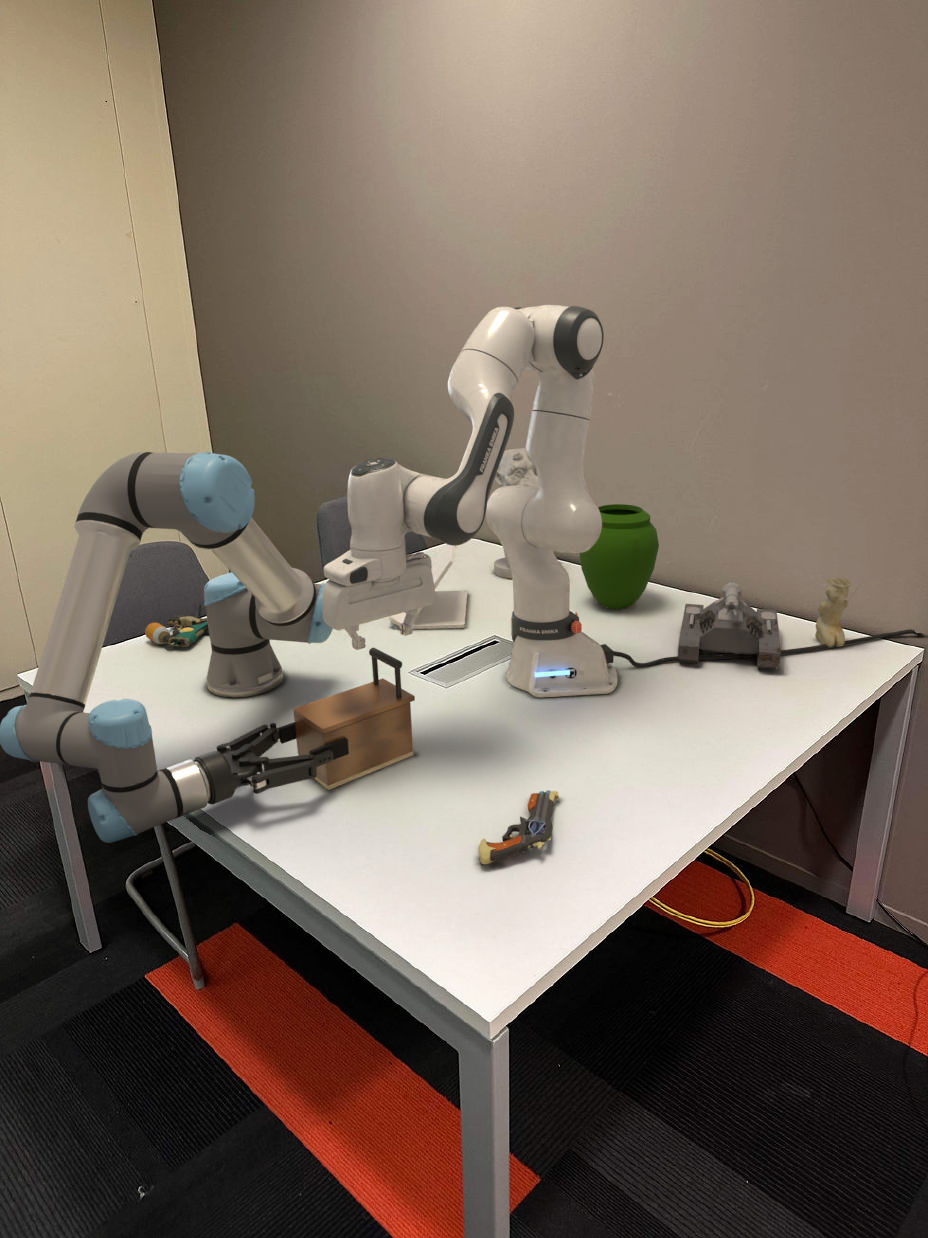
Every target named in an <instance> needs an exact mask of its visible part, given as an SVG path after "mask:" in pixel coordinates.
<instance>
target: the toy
mask: <svg viewBox="0 0 928 1238" xmlns="http://www.w3.org/2000/svg"><path fill="white" fill-rule="evenodd" d="M742 593H743V589H742V587H741V585H740V584H739V583H737V582H733V581H730V582H727V583H726V584H725V585H724V586H723V587H722V589H721V594H722V596H721V597H720V598H719V599H716V600H715V601H713V602H711V603H710V604H709V605H707V606H706V607H705V605H704V604H694V603H684V610H683V615H682V619H681V621H682V622H681V626H680V632H679V637H678V649H677V650H678V651H677V656H678V657H679V661H678V662H679V663H687V664H688V663H689V664H698V661H699V660H698V656H700V655H699V653H700V650H702V651H705V652H713V653H714V652H715V653H725V654H749V655H751V654H757V657H756V667H757V669H758V668H759V669H771V670H777V668H779V665H780V662H781V650H782V646H781V645H782V644H781V636H780V627H779V621H778V611H777V609H768V608H767V609H765V608H757V609H756V610H755V609H754V608H753V607H752V606H751V605H749V604H748V603H747V602H746V601H744V600H743V599H742V598H741V596H742Z"/></svg>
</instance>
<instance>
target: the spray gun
mask: <svg viewBox="0 0 928 1238" xmlns="http://www.w3.org/2000/svg"><path fill="white" fill-rule="evenodd" d="M195 616H196V615H190V614H189V615H181V616H179V615H177V616H172V617H170V618H169V619H168V622H167V626H173V630H172V634H171V632H170V630H169V629H168V628H167V627H166V626H164V625H162V624H161V623H159V622H151V623H149V624H148V625H147V626H146V628H145V630H144V634H145V636H146V638H147V639H148V640H150V641H152V642H153V643H155V644H157V645H164V644H168V645H169V646H170V647H183V648H184V647H185V648H188V647H189V646H190V645H191V644H193V643H194V642H195V641H197V640H198V638H200V636H202V635H204V634H206V633H205V632H206V630H208V631H209V628H208V622H207V617H204V618H201V617H195ZM185 626H187V627H185Z"/></svg>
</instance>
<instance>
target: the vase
mask: <svg viewBox="0 0 928 1238" xmlns="http://www.w3.org/2000/svg"><path fill="white" fill-rule="evenodd" d="M597 507H598V509H599V511H600V514H601V518H602V530H601V533H600V536H599V538H598V540H597V542H596V543H595V544H594V546H593V547H592V548H591V549H589V550H588V551H586V552H582V553H578V554H579V562H580V569H581V571H582V574H583V577H584V580H585V583H586V585H587V588H588V590H589V591H590V594H592V597H593V598H594V600H595V601H596V602H597V603H598V604H599V605H600V606H602V607H604V608H606V609H609V610H625V609H628V608H630V607H632V606H634V604H636V602H638V601H639V599H640V597H641V596H642V595H643V593H644V592H645V590H646V588H647V586H648V584H649V581H650V579H651V577H652V574H653V572H654V570H655V566H656V562H657V557H658V552H659V548H660V544H659V543H660V542H659V537H658V531H657V528H656V527H655V526H654V524H653V523H652V522H651V515H650V514H649V512H647V511H645V510H644V509H643V508H642V507H641V506H638V505H633V504H622V503H621V504H619V503H616V504H615V503H614V504H604V505H601V506H597Z"/></svg>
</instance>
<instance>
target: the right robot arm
mask: <svg viewBox="0 0 928 1238" xmlns="http://www.w3.org/2000/svg"><path fill="white" fill-rule="evenodd" d="M604 338H605V336H604V327H603V325H602V322H601V320H600V317H599V316H598V314H597V313H596V312H595V311H594V310H592V309H589V308H586V307H583V306H579V305H571V306H567V305H558V304H542V305H537V306H528V307H518V306H517V307H511V306H497V307H494V308H493V309H491V310H490V311H489V312H487V313H486V314H485V316H484V317H483V318H482V319H481V321H480V322H479V323H478V324H477V325H476V327H475V328H474V330H473V331H472V333H470V335H469V336H468V338H467V340H466V341H465V343H464V345H463V347H462V349H461V350H460V352H459V354H458V356H457V358H456V360H455V361H454V363H453V365H452V367H451V370H450V372H449V374H448V375H449V376H448V379H447V383H446V384H447V391H448V397H449V398H450V400H451V403H452V405H453V406H454V407H455V409H456V410H457V411H458V412H459V413H460V414H461V415H462V416H464V417H465V418H466V419H467V420H468V421H469V422H471V423H472V432H471V435H470V438H469V440H468V444H467V445H466V449H465V452H464V454H463V457H462V458H461V459H462V460H461V462H460V464H459V468H458V470H457V472H456V473H454V475H452V476H451V477H448V478H444V477H438V476H434V475H430V474H425V473H421V472H417V471H415V470H411V469H408V468H406V467H404V466H402V465H401V464H399V463H398V462H397V461H396V460H395V459H394V458H390V457H376V458H369V459H365V460H362V461H360V462H358V463H356V464H355V465H354V466H353V467H352V468H351V469H350V473H349V476H348V479H347V491H346V492H347V494H346V495H347V496H346V498H347V500H346V501H347V503H346V504H347V516H348V517H347V518H348V522H349V524H350V528H351V535H350V541H349V549H348V550H347V551H346V552H344V553H343V554H342V555H340V556H339V557H337V558H335V559H333V560H331V561H330V562H328V563H327V564H326V565H324V567H323V576H324V578H326V579H327V581H326V582H325V583H324V584H325V585H324V588H323V593H322V612H323V620H324V622H325V623H326V624H327V625H328V626H329V627H331V628H333V630H336V631H341V630H345V631H346V633H347V634H348V636H349V637H350V639H351V645H352V648H353V649H354V650H356V651H359V650H363V649H365V648H366V647H367V646H366V645H367V644H366V637H362V636H361V635H359V634H358V632H359V630H360V625H363V624H367V623H370V622H373V621H377V620H381V619H385V618H389V617H390V616H392V615H396V614H399V613H403V612H404V613H406V616H405V619H404V622H403V623H402V624H399V626H398V627H399V633H400V635H401V636H404V637H406V636H409V635H412V634H413V630H414V629H412V625H413V623H414V621H415V619H416V617H417V615H418V610H417V609H418V608H421V607H425V606H428V605H431V604H432V603H433V602H434V600H435V591H436V588H435V587H434V581H433V575H432V572H431V570H432V565H433V564H432V558H431V556H430V555H429V554H427V553H425V552H424V551H417V552H415V553H408V554H407V549H406V548H407V547H406V538H405V537H406V534H407V533H411V532H412V533H415V534H418V535H421V536H425V537H428V538H432V539H434V540H436V541H438V542H441V543H443V544H445V545H447V544H448V545H453V546H456V547H458V546H462V545H464V544H466V543H468V542H469V541H470V540H471V539H473V538H474V537H475V536H476V535H478V533H479V531H480V530H481V528H482V526H483V524H484V522H485V520H486V523H487V525H488V527H489V529H491V531H492V532H493V533H494V534H495V536H496V537H497V538H498V540H499V542H500V544H501V546H502V548H504V549H503V552H504V551H505V553H506V556H507V559H508V562H509V565H510V569H511V573H512V578H511V579H512V592H513V593H512V594H513V596H512V597H513V611H512V612H511V618H510V635H511V640H512V645H511V646H512V647H511V655H510V660H509V665H508V669H507V672H506V675H505V678H506V681H507V683H509V684H510V685H511V686H513V687H515V688H517V689H519V690H522V691H525V692H527V693H529V694H530V695H531V696H533V697H535V698H556V697H572V696H573V697H574V696H588V695H589V696H590V695H591V696H592V695H607V694H611V693H612V692H613V691H615V690H616V688H617V686H618V673H617V670H616V668H615V667H614V666H613V665H612V664H613V663H614V657H619V658H622V659H625V660H627V661H628V662H629V663H630V665H631V666H633V667H635V668H639V669H640V668H642V669H643V668H649V667H654V666H657V665H659V664H663V663H670V662H679V657H678V655H677V656H676V655H675V656H666V657H662V658H657V659H655V660H651V661H649V662H648V661H647V662H637V661H635V660H634V659H633V657H632V656H631V655H629V654H627V653H625V652H621V651H617V650H613V649H612V648H611V647H609V646H608V645H607V644H606V643H602V644H600V643H599V642H598V641H596V640H595V639H593V638H591V637H590V636H589V635H587V634H586V633H585V632H583V631H582V630H583V626H582V625H583V624H582V622H581V621H580V616H579V615H578V612H577V611H575V613H574V612H573V611H571V610H570V590H571V589H570V586H571V585H570V584H571V579H570V576H569V572H568V571H567V570H566V568H565V567H564V566H563V565H562V564H561V562H560V561H559V560H558V558H557V556H556V555H555V552H557V553H561V554H579V553H582V552H586V551H588V550H589V549H591V548H592V547H593V546H594V544H595V543H596V542H597V540H598V538H599V536H600V533H601V530H602V518H601V514H600V511H599V509H598V507H599V506H597V505H596V503H595V502H594V501H593V499H592V497H591V495H590V492H589V489H588V487H587V482H586V478H585V468H584V467H585V466H584V465H585V454H586V445H587V440H588V434H589V429H590V422H591V417H592V411H593V403H594V390H595V389H594V388H595V373H594V369H593V368H594V366H595V364H596V363H597V361H598V359H599V357H600V355H601V352H602V349H603V346H604ZM525 370H529V371H536V372H537V375H538V384H537V388H536V391H535V394H534V399H533V403H532V409H531V414H530V418H529V424H528V430H527V435H526V436H527V437H526V440H525V446H524V448H525V451H526V455H527V457H528V459H529V460H530V462H531V463H532V464H533V465H534V466H535V468H536V471H537V474H538V479H539V488H535V487H529V486H524V485H514V486H505V487H502V486H499V487H498V488H497V489H495V490H494V491H493V492H492V493H491V489H492V487H493V484H494V481H495V476H496V473H497V470H498V467H499V465H500V462H501V459H502V456H503V453H504V451H506V448H507V445H508V443H509V439H510V436H511V433H512V430H513V426H514V421H515V409H514V405H513V403H512V401H513V396H514V393H515V391H516V388H517V387H518V384H519V382H520V381H521V379H522V376H523V374H524V371H525ZM490 493H491V495H490ZM505 553H504V554H505ZM912 629H913V628H911V629H909V628H908V629H903V630H899V631H891V632H884V633H883V632H882V633H878V634H873V635H869V636H864V637H859V638H853V639H846V640H845V643H844V645H842V646H841V647H843V646H844V647H845V646H849V645H854V644H859V643H860V644H861V643H864V642H865V643H866V642H870V641H874V640H880V639H885V638H893V637H898V636H903V635H910V634H911V635H916V636H917V637H918V638H926V636H925V635H924V633H922V632H921V633H916V632H915V631H914V630H915V629H913V630H912ZM832 648H837V646H836V645H835V644H834V646H832V647H829V646H827V645H826V644H824V645H823V644H818V645H812V646H805V647H804V646H803V647H797V648H789V649H781V655H790V654H791V655H792V654H799V653H807V652H813V651H819V650H820V651H821V650H826V649H832ZM745 658H757V654H751V655H749V654H737V653H725V654H704V655H698V661H713V660H729V659H731V660H732V659H745Z"/></svg>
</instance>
